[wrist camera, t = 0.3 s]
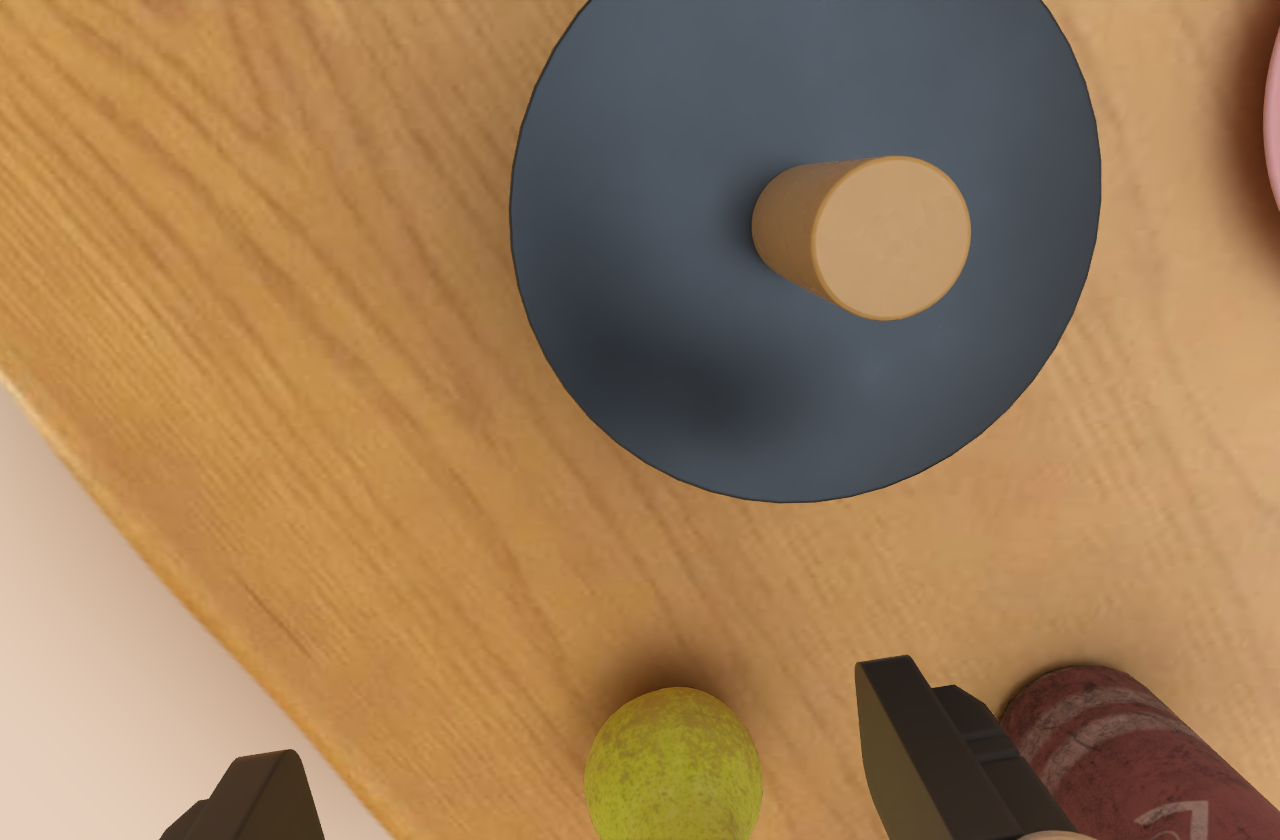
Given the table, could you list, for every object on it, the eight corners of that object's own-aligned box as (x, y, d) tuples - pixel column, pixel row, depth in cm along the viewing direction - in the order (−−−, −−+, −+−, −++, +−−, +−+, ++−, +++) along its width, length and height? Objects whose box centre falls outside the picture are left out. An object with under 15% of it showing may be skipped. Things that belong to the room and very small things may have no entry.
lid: (398, 254, 19) (293, 289, 13) (782, -239, 17) (891, -499, 10) (806, 583, 22) (893, 754, 15) (1186, 190, 19) (1477, 192, 13)
